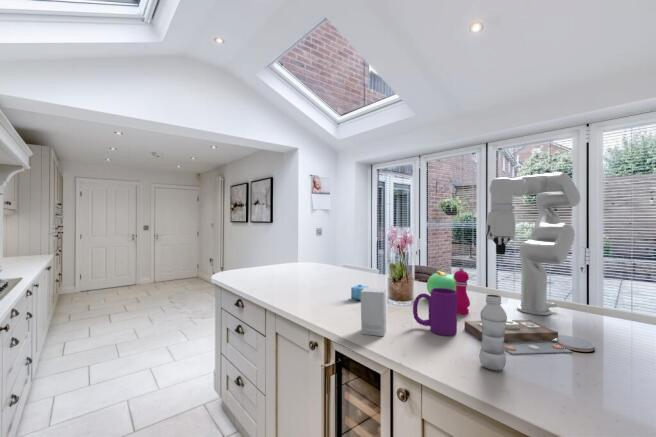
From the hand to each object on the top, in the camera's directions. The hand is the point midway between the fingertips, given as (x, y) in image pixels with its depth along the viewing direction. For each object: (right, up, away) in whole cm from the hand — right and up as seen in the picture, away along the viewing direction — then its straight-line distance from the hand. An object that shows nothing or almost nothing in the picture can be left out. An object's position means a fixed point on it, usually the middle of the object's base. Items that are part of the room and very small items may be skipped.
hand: (500, 254), depth 125 cm
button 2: (+3, -27, -14) cm, 30 cm away
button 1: (-13, -27, -15) cm, 33 cm away
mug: (-30, -27, -11) cm, 42 cm away
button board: (-5, -27, -14) cm, 31 cm away
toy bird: (-11, -27, +31) cm, 43 cm away
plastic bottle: (-24, -27, -39) cm, 53 cm away
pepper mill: (-11, -27, +11) cm, 31 cm away
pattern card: (-4, -27, -26) cm, 38 cm away
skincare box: (-53, -27, -13) cm, 61 cm away
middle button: (-5, -26, -14) cm, 30 cm away
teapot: (-54, -27, +31) cm, 68 cm away
